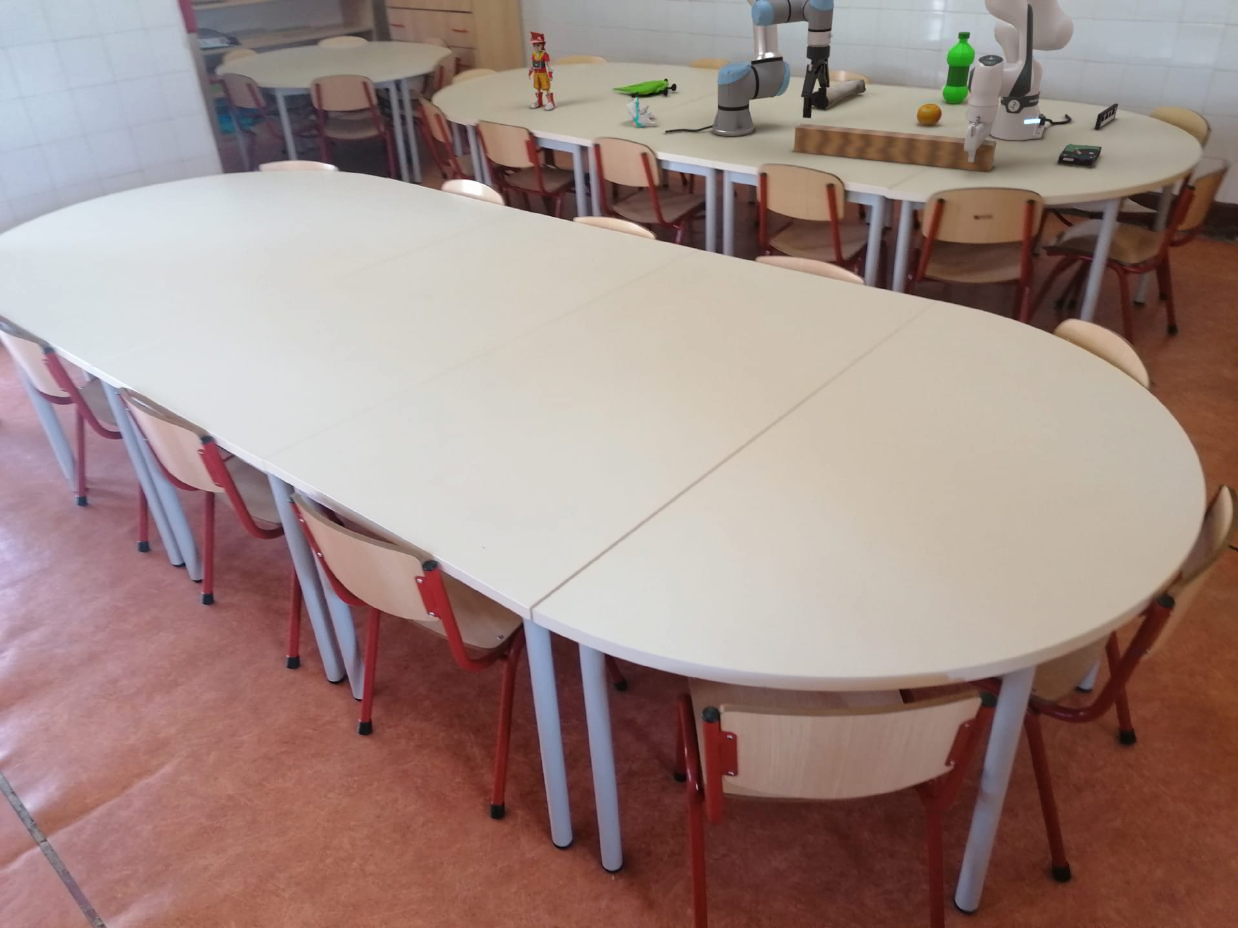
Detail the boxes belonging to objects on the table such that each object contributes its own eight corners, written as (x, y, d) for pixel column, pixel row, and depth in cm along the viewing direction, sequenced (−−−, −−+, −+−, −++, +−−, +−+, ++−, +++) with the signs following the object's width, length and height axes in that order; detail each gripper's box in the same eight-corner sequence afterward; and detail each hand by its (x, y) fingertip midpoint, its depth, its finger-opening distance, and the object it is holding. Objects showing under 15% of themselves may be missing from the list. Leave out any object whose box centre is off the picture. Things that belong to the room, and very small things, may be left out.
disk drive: (1092, 168, 280) (1100, 154, 290) (1094, 159, 278) (1102, 146, 288) (1057, 164, 285) (1065, 151, 295) (1059, 155, 283) (1067, 142, 293)
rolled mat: (841, 83, 376) (857, 68, 368) (853, 102, 377) (870, 86, 369) (802, 102, 359) (819, 86, 351) (815, 121, 359) (832, 105, 351)
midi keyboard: (1098, 129, 313) (1101, 114, 311) (1094, 129, 314) (1098, 114, 311) (1114, 118, 324) (1118, 104, 321) (1111, 118, 325) (1114, 103, 322)
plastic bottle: (973, 101, 354) (984, 32, 339) (955, 106, 349) (966, 36, 335) (952, 97, 361) (962, 29, 346) (934, 102, 356) (944, 33, 342)
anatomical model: (623, 97, 354) (648, 90, 354) (629, 123, 360) (653, 116, 359) (626, 106, 342) (652, 99, 341) (633, 133, 348) (658, 126, 347)
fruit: (911, 116, 327) (926, 96, 324) (913, 119, 335) (927, 100, 332) (931, 129, 325) (945, 109, 322) (931, 132, 333) (946, 112, 330)
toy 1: (525, 109, 381) (517, 32, 364) (534, 104, 388) (527, 28, 371) (550, 110, 377) (543, 32, 360) (559, 105, 384) (553, 28, 367)
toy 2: (686, 85, 398) (631, 84, 414) (685, 72, 395) (629, 72, 411) (651, 104, 381) (596, 103, 397) (650, 92, 378) (594, 91, 394)
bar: (793, 151, 311) (795, 127, 307) (799, 147, 315) (801, 123, 311) (988, 171, 283) (993, 145, 278) (992, 166, 287) (997, 141, 282)
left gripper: (816, 53, 281) (811, 123, 293) (842, 38, 299) (837, 105, 311) (793, 51, 285) (789, 121, 297) (821, 37, 302) (816, 103, 314)
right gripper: (984, 122, 269) (976, 169, 277) (999, 106, 283) (991, 151, 291) (962, 121, 272) (955, 166, 280) (978, 105, 286) (970, 149, 294)
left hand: (814, 113), depth 304 cm, fingers open, 13 cm apart
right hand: (973, 158), depth 286 cm, fingers closed on bar, 5 cm apart
